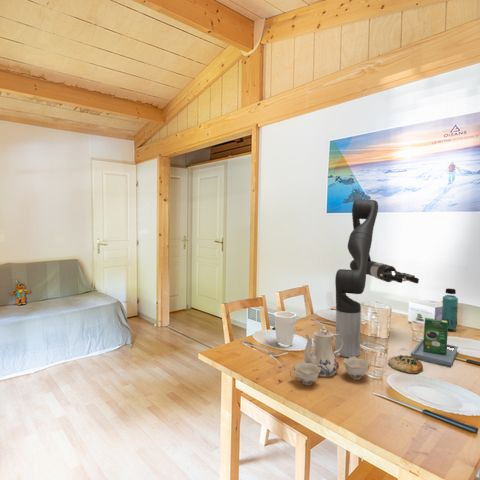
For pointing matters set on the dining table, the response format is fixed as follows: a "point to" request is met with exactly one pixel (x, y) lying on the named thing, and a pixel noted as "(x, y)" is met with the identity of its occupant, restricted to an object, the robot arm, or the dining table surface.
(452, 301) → the beverage bottle
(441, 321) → the coffee box
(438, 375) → the dining table surface
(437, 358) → the dish
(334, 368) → the chinaware
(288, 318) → the foam cup
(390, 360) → the bread roll
